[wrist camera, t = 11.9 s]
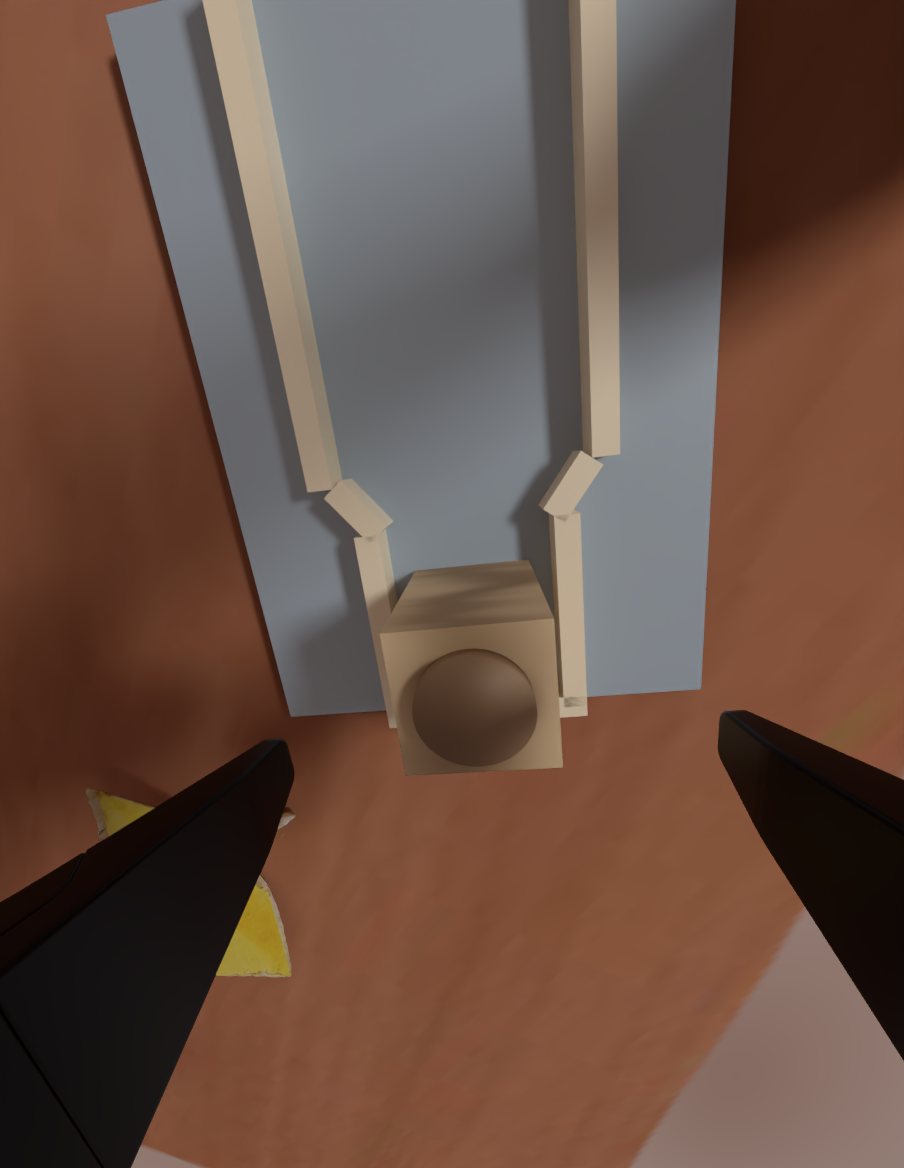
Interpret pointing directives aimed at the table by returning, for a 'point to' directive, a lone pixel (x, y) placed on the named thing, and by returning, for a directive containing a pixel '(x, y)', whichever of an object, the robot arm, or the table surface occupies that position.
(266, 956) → the origami crane
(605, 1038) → the table surface
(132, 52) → the keyhole board
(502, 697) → the stud block
